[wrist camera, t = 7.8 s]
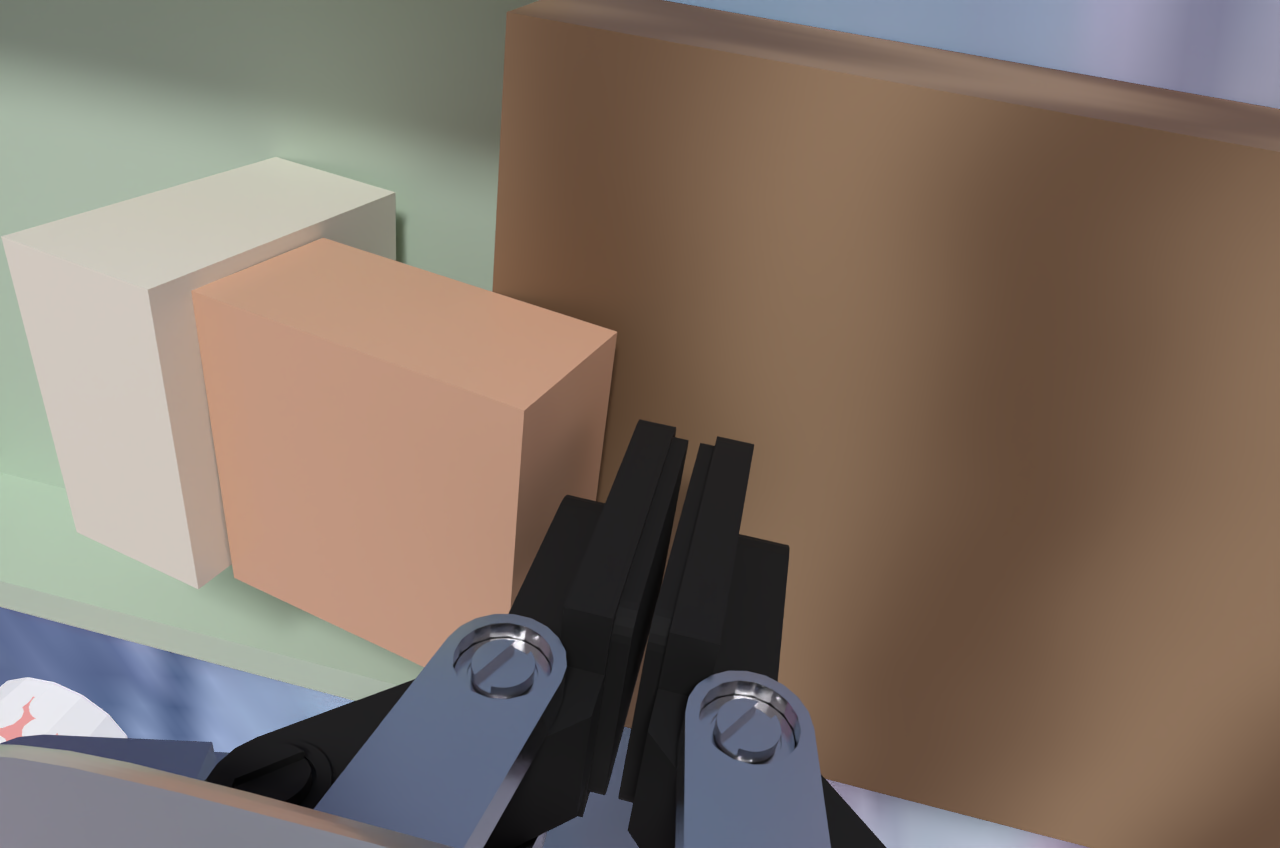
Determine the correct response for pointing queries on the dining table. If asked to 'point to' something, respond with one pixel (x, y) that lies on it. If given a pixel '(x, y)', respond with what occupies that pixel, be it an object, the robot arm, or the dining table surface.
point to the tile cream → (162, 341)
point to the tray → (197, 148)
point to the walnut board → (944, 389)
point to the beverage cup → (50, 712)
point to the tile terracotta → (394, 437)
